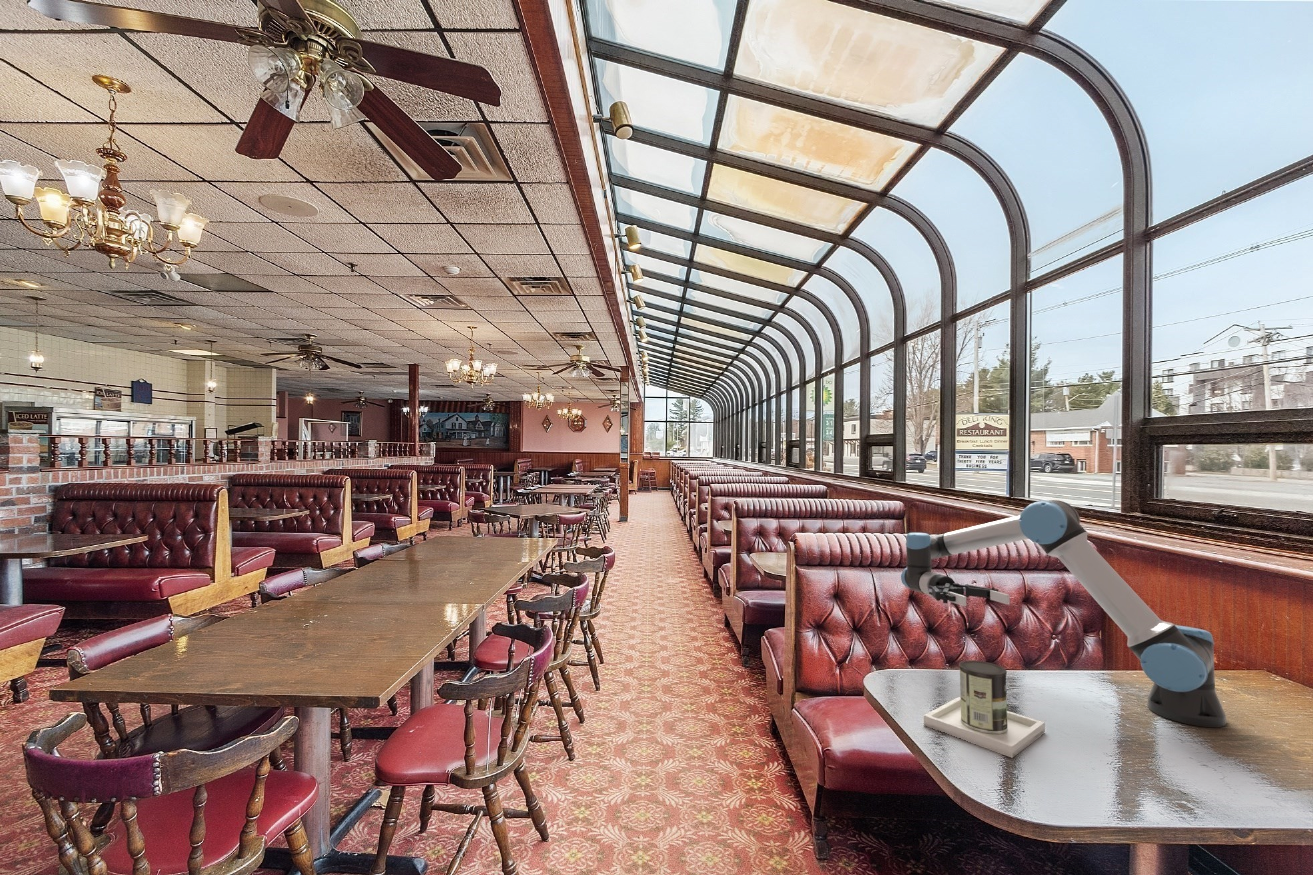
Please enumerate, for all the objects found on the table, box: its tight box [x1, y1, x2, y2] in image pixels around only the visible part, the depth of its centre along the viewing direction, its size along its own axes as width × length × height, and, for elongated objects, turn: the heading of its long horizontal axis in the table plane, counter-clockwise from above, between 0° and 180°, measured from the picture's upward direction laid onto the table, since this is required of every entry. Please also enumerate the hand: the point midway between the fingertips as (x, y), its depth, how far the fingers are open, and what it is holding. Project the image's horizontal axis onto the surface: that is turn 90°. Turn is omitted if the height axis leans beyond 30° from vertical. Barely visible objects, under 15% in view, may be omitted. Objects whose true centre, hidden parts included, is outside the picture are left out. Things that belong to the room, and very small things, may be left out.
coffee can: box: [958, 659, 1008, 734], centre depth 142 cm, size 10×10×14 cm
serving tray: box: [923, 695, 1046, 759], centre depth 141 cm, size 20×20×2 cm
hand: (986, 600), depth 160 cm, fingers open, 13 cm apart
